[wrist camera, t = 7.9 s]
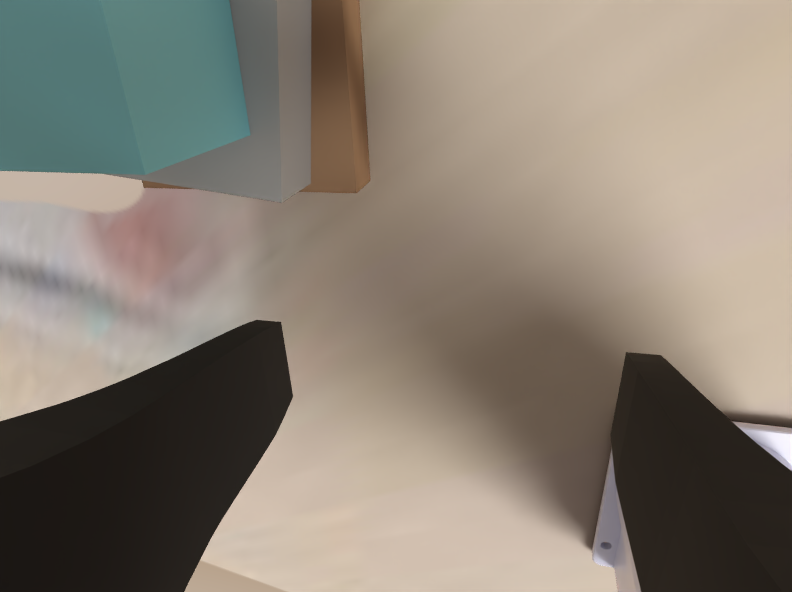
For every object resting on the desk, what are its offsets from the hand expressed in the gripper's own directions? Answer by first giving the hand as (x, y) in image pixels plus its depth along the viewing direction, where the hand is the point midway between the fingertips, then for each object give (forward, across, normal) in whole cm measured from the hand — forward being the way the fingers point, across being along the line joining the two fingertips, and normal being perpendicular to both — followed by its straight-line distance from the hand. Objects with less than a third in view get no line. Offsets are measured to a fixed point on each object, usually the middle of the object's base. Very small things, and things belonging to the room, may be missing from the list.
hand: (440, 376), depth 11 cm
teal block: (+6, +9, -6) cm, 13 cm away
